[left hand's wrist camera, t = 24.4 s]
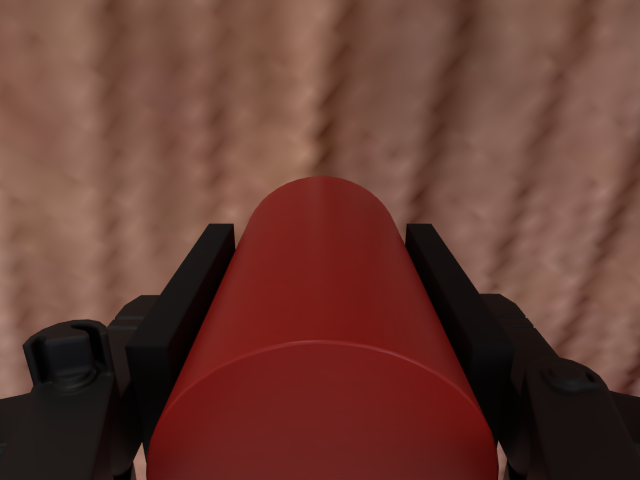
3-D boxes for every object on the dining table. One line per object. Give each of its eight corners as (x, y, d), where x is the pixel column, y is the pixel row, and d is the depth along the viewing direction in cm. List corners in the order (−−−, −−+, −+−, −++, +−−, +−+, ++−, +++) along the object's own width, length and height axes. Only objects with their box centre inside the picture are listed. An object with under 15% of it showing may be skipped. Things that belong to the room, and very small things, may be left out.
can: (430, 262, 16) (565, 508, 7) (310, 345, 17) (300, 641, 8) (333, 141, 14) (354, 265, 6) (210, 242, 15) (69, 472, 7)
